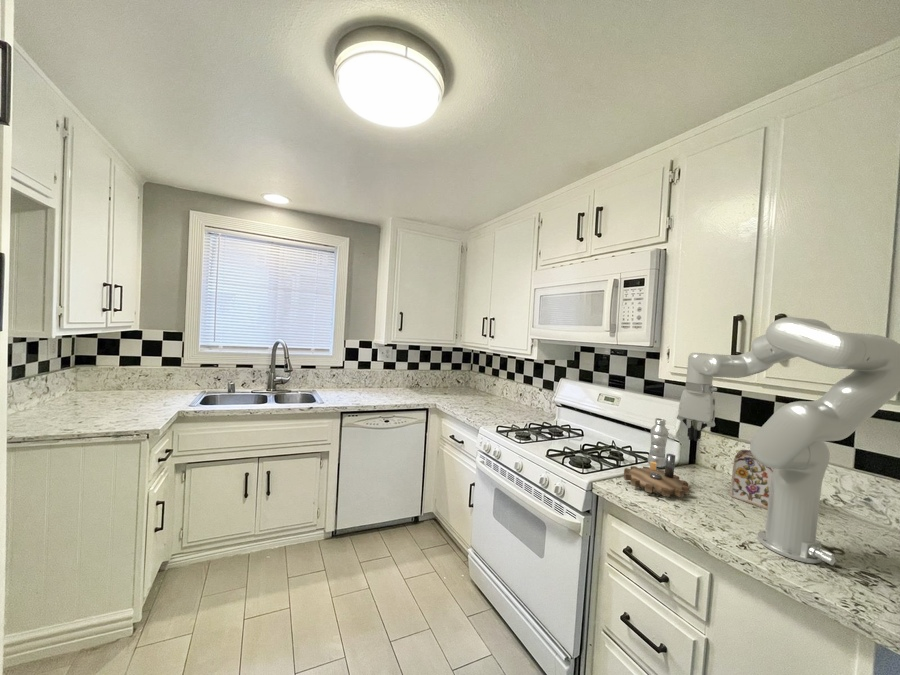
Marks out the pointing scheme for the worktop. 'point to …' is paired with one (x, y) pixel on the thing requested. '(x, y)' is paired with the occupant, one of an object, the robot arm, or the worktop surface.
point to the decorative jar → (750, 480)
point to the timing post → (653, 465)
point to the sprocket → (658, 479)
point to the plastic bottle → (658, 443)
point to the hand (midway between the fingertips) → (693, 439)
